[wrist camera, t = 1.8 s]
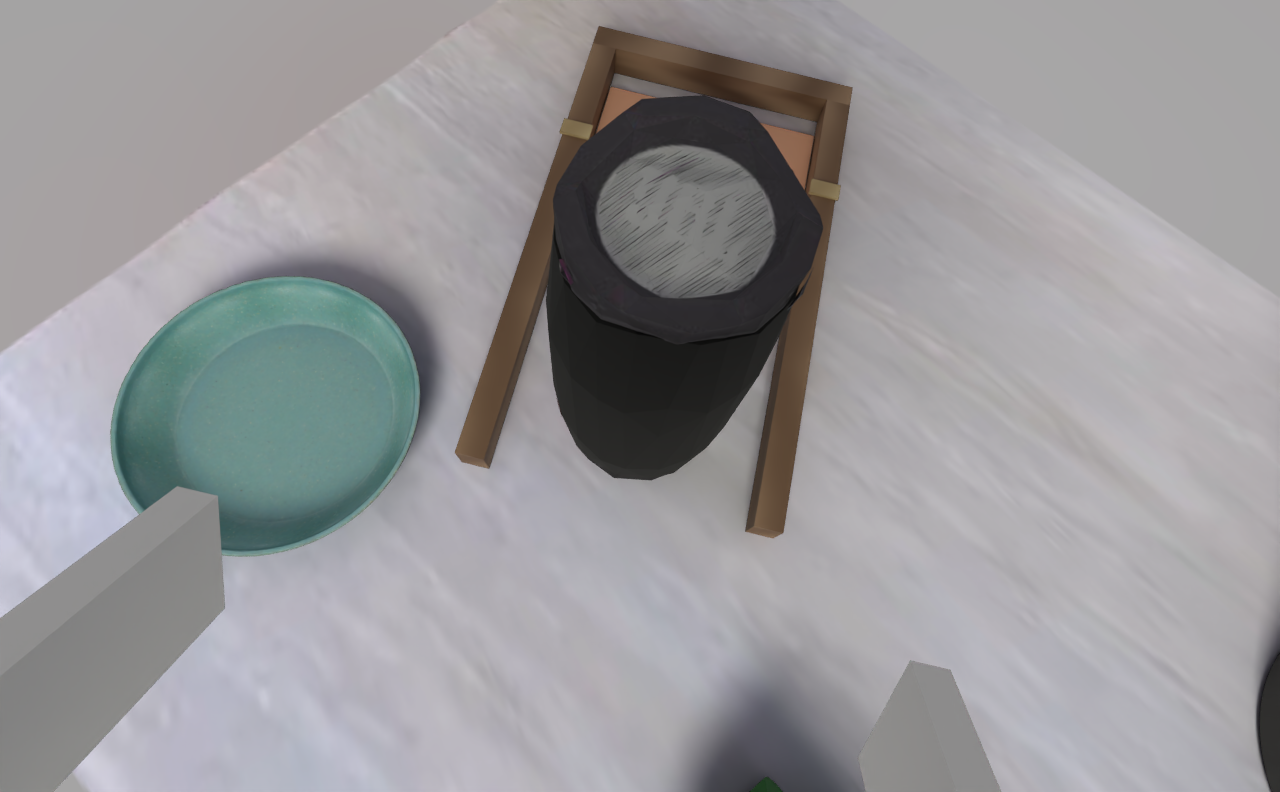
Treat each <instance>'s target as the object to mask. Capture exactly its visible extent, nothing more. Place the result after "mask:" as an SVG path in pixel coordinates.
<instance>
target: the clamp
mask: <svg viewBox="0 0 1280 792" xmlns="http://www.w3.org/2000/svg"><path fill="white" fill-rule="evenodd" d="M750 792H783V791H782V790H781V789H780V788H779V787H778V786H777V785H776V784H775V783H774V782H773V781H772V780H771V779H770V778H768V777H765V778H764V779H763V780H762V781H761V782H759V783H758V784H757V785H756V786H755V787H754V788H753V789H752V790H751V791H750Z"/></svg>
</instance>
